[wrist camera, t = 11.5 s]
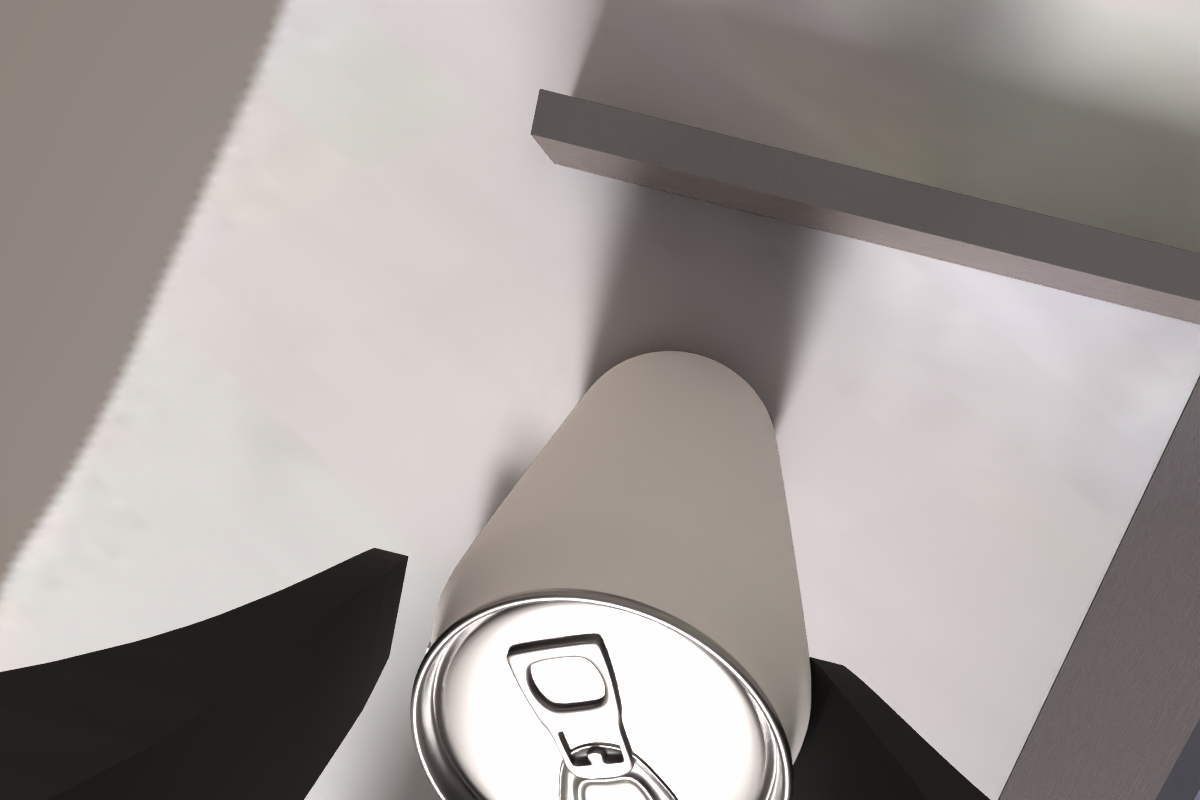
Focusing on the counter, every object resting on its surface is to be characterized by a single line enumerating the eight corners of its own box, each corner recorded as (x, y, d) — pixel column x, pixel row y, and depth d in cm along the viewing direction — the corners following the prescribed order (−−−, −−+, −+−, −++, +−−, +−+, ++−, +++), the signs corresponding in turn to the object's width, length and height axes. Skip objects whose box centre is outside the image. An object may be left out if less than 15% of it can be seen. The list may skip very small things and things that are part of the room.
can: (610, 548, 22) (476, 925, 11) (547, 377, 20) (312, 606, 9) (799, 512, 20) (875, 923, 9) (745, 320, 18) (756, 522, 7)
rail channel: (1269, 306, 19) (1464, 320, 14) (955, 948, 25) (1025, 1098, 20) (561, 128, 19) (539, 88, 14) (415, 817, 24) (368, 938, 20)
